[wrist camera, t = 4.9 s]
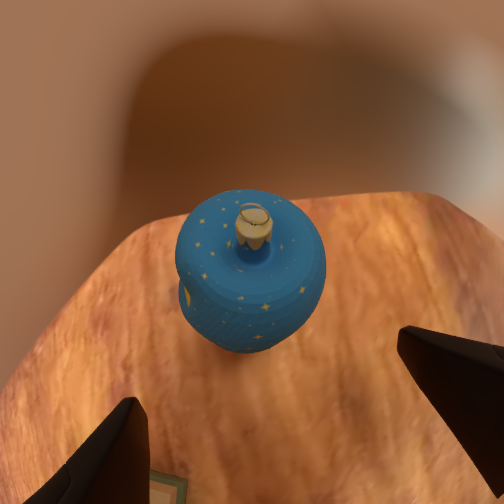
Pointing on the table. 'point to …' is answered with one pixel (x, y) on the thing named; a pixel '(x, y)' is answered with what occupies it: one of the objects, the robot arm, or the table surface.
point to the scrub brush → (167, 489)
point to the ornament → (249, 269)
